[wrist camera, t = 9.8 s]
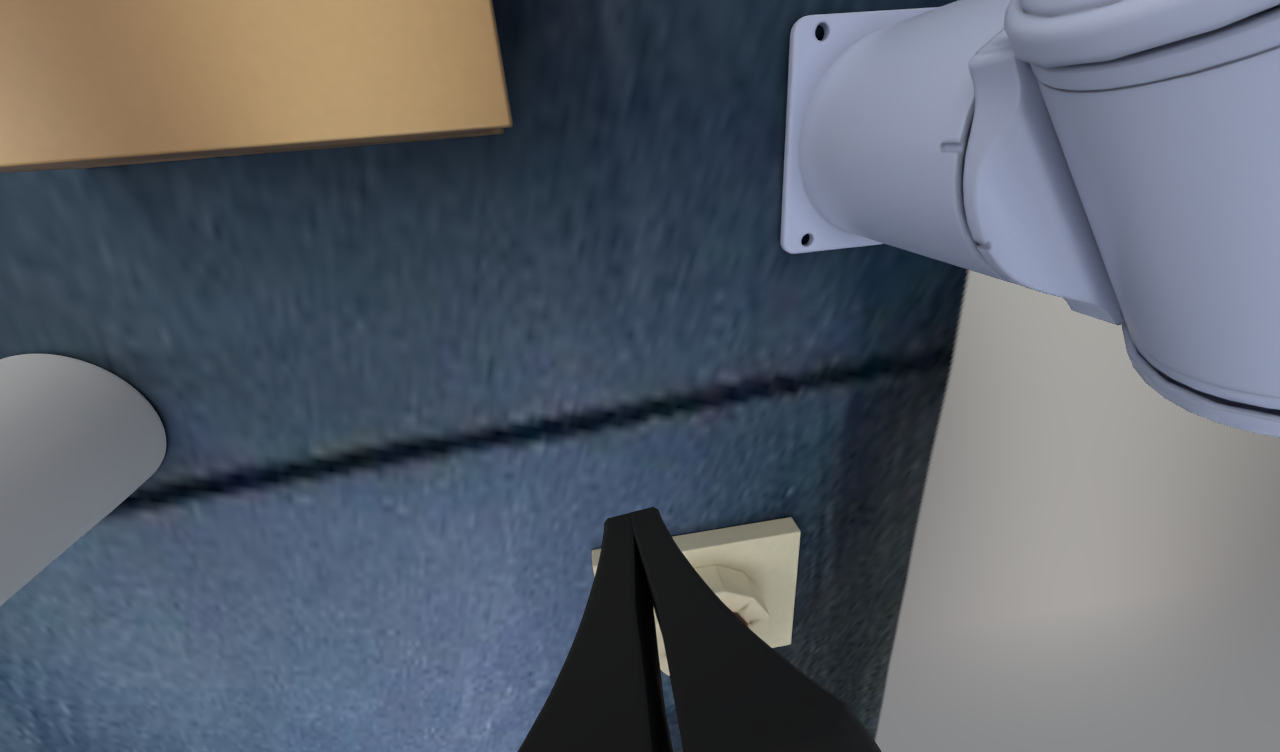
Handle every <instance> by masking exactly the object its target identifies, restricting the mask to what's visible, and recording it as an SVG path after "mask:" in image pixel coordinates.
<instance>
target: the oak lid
mask: <svg viewBox="0 0 1280 752" xmlns="http://www.w3.org/2000/svg"><path fill="white" fill-rule="evenodd" d="M512 126H513V121H512V115H511V109H510V103H509V97H508V91H507V85H506V79H505V73H504V67H503V61H502V55H501V50H500V44H499V38H498V32H497V26H496V20H495V14H494V8H493V2H492V0H0V168H10V167H23V166H35V165H48V164H60V163H73V162H85V161H98V160H110V159H122V158H135V157H147V156H160V155H172V154H185V153H197V152H210V151H222V150H235V149H247V148H260V147H272V146H285V145H297V144H309V143H322V142H334V141H347V140H359V139H372V138H384V137H397V136H409V135H422V134H434V133H447V132H459V131H472V130H484V129H496V128H509V127H512Z"/></svg>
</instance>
